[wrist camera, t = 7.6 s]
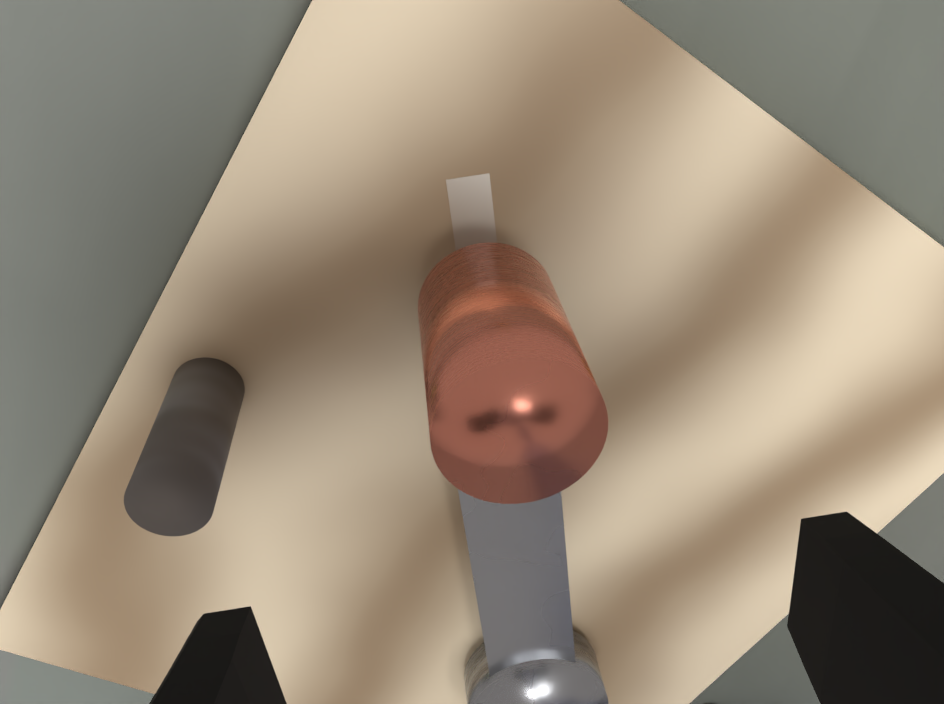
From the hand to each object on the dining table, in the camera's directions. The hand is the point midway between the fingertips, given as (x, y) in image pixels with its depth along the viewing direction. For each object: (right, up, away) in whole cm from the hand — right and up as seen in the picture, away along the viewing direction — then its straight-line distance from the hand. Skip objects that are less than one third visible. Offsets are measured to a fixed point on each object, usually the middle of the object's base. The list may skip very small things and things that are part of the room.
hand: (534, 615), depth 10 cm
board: (0, 0, +11) cm, 11 cm away
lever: (0, -1, +10) cm, 10 cm away
